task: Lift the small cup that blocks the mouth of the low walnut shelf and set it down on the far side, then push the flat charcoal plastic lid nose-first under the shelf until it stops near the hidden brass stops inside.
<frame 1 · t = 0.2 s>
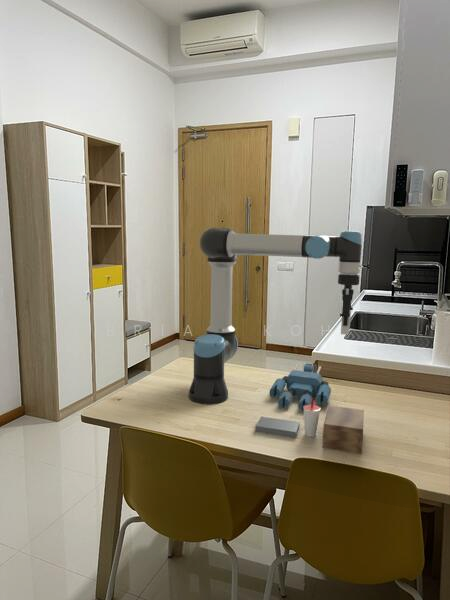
hand: (345, 330, 168), 28 cm above the table, tool pointing down, fingers open, 13 cm apart
shelf: (341, 439, 140), on the table
toy: (301, 397, 177), on the table
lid: (277, 431, 146), on the table
cup: (310, 435, 143), on the table
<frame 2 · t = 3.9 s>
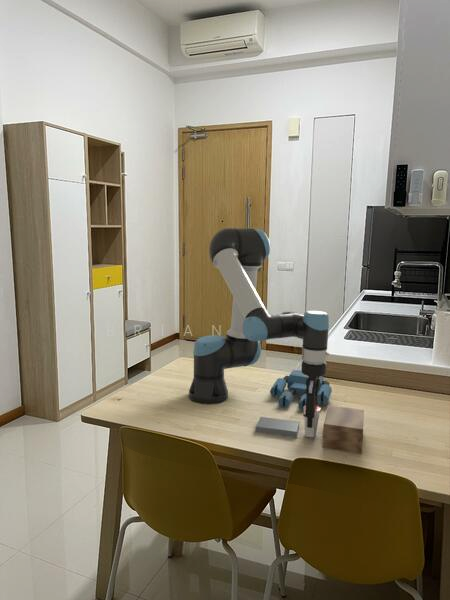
hand: (310, 432, 143), 1 cm above the table, tool pointing down, fingers closed on cup, 5 cm apart
cup: (310, 435, 143), on the table, touching gripper
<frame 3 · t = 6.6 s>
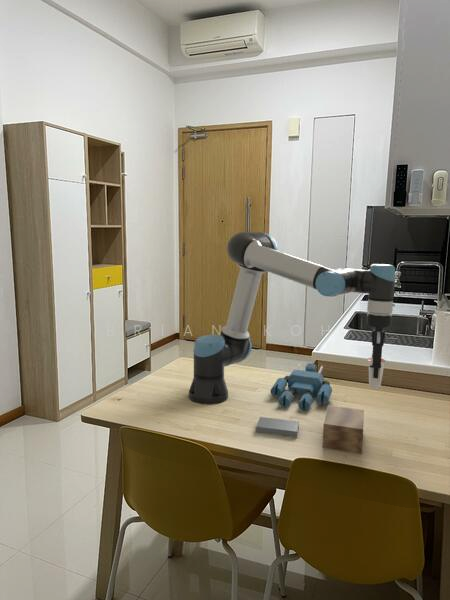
hand: (374, 384, 146), 15 cm above the table, tool pointing down, fingers closed on cup, 5 cm apart
cup: (374, 387, 146), point 14 cm above the table, touching gripper
when the fingers open (2 cm above the table, at t = 9.2 s): cup drops 1 cm, on the table.
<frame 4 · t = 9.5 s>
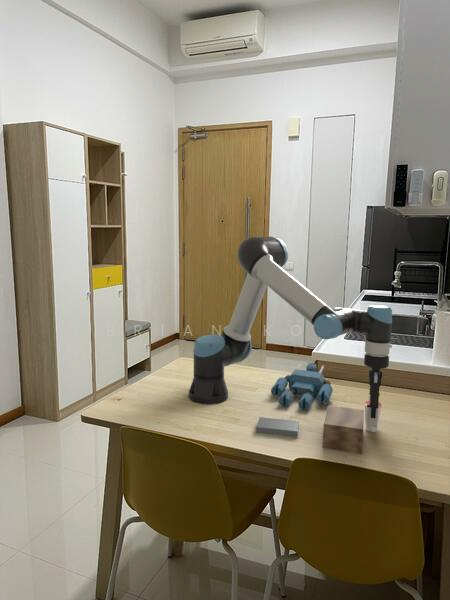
hand: (372, 420, 148), 3 cm above the table, tool pointing down, fingers open, 9 cm apart
cup: (371, 430, 148), on the table
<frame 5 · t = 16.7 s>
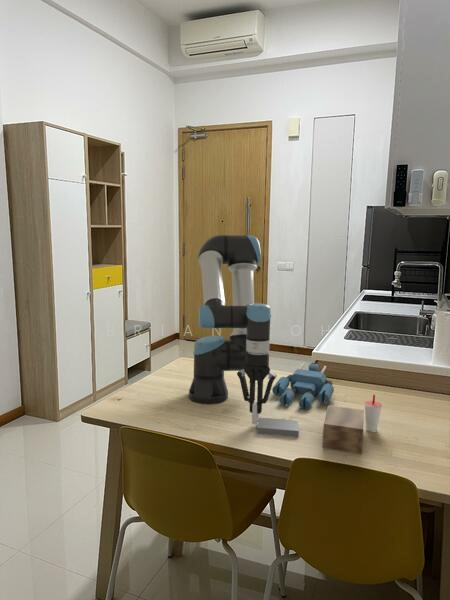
hand: (255, 422, 148), 2 cm above the table, tool pointing down, fingers closed
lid: (277, 431, 146), on the table, touching gripper
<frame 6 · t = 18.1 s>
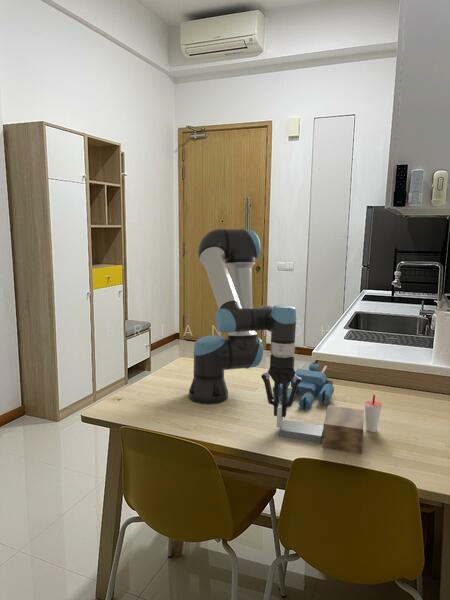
hand: (279, 425, 146), 2 cm above the table, tool pointing down, fingers closed
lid: (301, 435, 143), on the table
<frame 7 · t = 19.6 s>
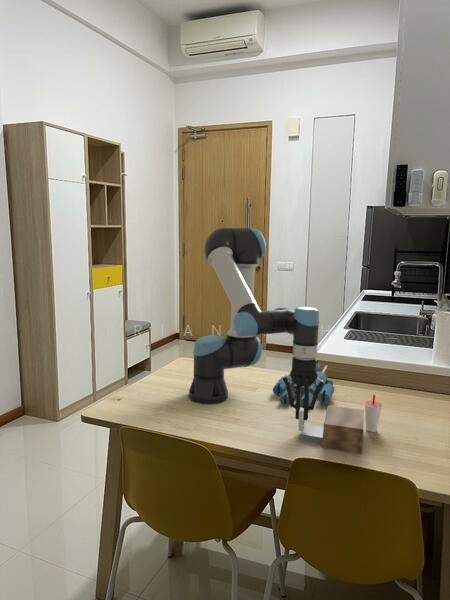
hand: (301, 428, 144), 1 cm above the table, tool pointing down, fingers closed
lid: (323, 439, 141), on the table
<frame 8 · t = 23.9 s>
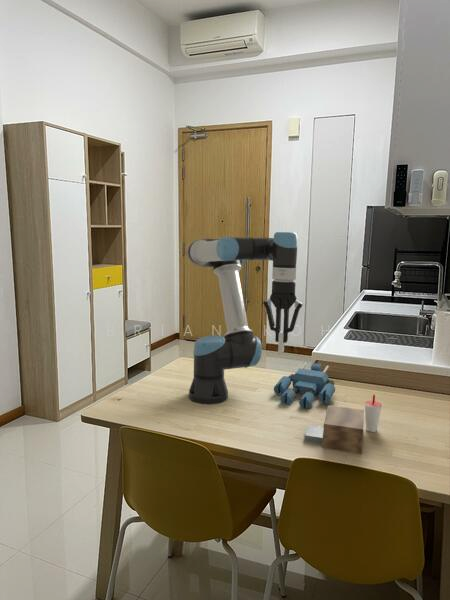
hand: (281, 351, 149), 24 cm above the table, tool pointing down, fingers closed
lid: (326, 440, 141), on the table
at the end: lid 1.3 cm from the target spot on the shelf, point -0.5 cm above the shelf's base; cup moved 21.3 cm from its start; cup tilted 0° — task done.
